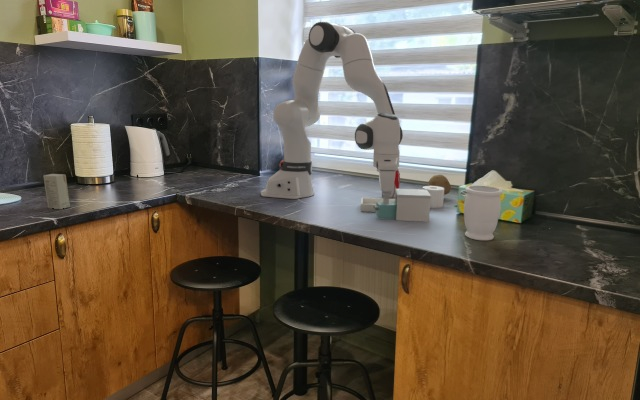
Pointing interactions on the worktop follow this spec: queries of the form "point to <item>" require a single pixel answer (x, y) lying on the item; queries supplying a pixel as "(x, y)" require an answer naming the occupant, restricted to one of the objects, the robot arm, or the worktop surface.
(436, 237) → the worktop surface
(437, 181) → the natural sponge
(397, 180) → the soda can
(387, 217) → the teal block
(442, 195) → the toilet paper
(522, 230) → the worktop surface
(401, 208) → the white box
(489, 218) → the jar
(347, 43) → the robot arm
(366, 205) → the tray
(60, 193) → the skincare box
